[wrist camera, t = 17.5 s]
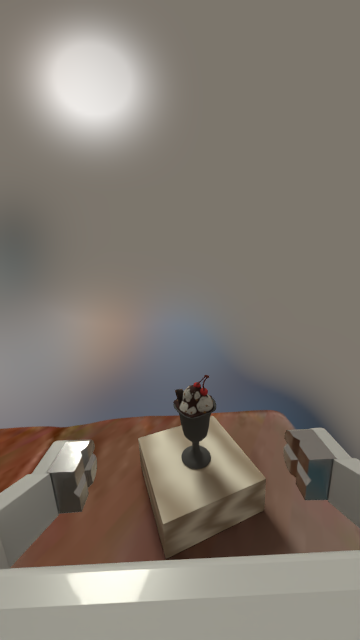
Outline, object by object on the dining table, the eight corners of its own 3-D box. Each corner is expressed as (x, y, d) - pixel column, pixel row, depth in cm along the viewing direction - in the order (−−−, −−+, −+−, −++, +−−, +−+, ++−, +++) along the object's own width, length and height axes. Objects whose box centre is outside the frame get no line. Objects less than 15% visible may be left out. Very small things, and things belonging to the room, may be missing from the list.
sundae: (224, 462, 37) (225, 377, 34) (189, 481, 34) (186, 390, 31) (201, 437, 43) (200, 362, 40) (169, 451, 40) (165, 372, 37)
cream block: (165, 559, 30) (163, 524, 29) (140, 464, 45) (138, 438, 43) (264, 510, 36) (265, 478, 34) (213, 440, 50) (213, 416, 49)
